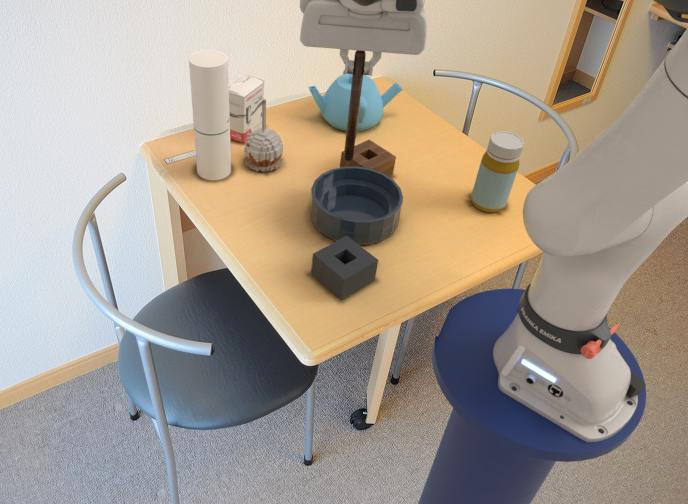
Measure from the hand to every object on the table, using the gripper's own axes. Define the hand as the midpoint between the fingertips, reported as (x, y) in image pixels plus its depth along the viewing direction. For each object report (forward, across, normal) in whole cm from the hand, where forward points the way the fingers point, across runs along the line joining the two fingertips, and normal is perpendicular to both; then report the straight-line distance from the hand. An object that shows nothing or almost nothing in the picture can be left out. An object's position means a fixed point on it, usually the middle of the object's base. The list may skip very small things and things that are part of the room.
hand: (358, 73), depth 110 cm
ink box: (+29, -23, +24) cm, 44 cm away
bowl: (+29, +2, -3) cm, 29 cm away
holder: (+29, +4, +12) cm, 31 cm away
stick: (+18, 0, 0) cm, 18 cm away
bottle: (+29, +29, +6) cm, 42 cm away
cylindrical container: (+29, -27, +8) cm, 41 cm away
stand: (+29, +1, -20) cm, 35 cm away
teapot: (+29, +1, +34) cm, 45 cm away
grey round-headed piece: (+29, -18, +13) cm, 36 cm away
